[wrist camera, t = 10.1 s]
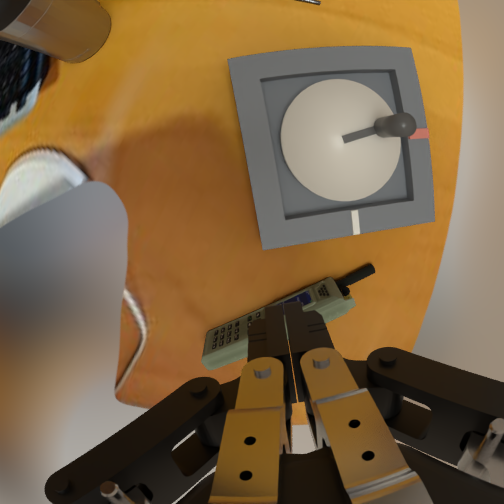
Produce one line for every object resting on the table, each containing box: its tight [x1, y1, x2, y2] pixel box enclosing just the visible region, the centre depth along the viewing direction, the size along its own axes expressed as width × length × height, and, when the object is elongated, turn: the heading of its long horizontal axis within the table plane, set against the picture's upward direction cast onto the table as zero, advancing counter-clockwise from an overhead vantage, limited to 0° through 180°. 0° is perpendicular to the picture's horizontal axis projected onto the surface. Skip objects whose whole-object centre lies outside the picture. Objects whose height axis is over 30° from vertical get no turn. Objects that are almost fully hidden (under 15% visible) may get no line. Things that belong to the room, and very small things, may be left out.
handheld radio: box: [201, 264, 375, 370], centre depth 40 cm, size 7×3×25 cm
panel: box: [228, 46, 435, 250], centre depth 34 cm, size 22×22×4 cm
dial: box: [280, 79, 417, 201], centre depth 30 cm, size 14×14×8 cm
